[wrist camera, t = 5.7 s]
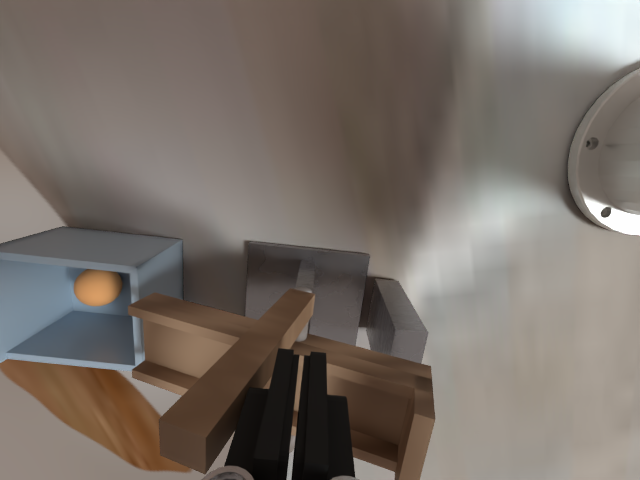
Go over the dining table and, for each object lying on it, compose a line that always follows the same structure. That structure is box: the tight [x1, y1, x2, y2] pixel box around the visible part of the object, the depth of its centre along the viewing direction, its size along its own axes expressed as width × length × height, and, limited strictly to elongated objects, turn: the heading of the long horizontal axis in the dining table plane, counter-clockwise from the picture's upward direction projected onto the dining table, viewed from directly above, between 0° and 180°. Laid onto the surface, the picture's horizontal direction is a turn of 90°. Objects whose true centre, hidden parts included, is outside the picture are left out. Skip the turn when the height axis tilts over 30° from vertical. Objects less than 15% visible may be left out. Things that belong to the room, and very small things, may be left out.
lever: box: [128, 287, 435, 480], centre depth 14 cm, size 17×10×10 cm, turn 82°
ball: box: [74, 269, 122, 306], centre depth 25 cm, size 3×3×3 cm
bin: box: [0, 227, 183, 371], centre depth 22 cm, size 10×8×10 cm
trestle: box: [245, 241, 428, 364], centre depth 23 cm, size 13×9×9 cm
